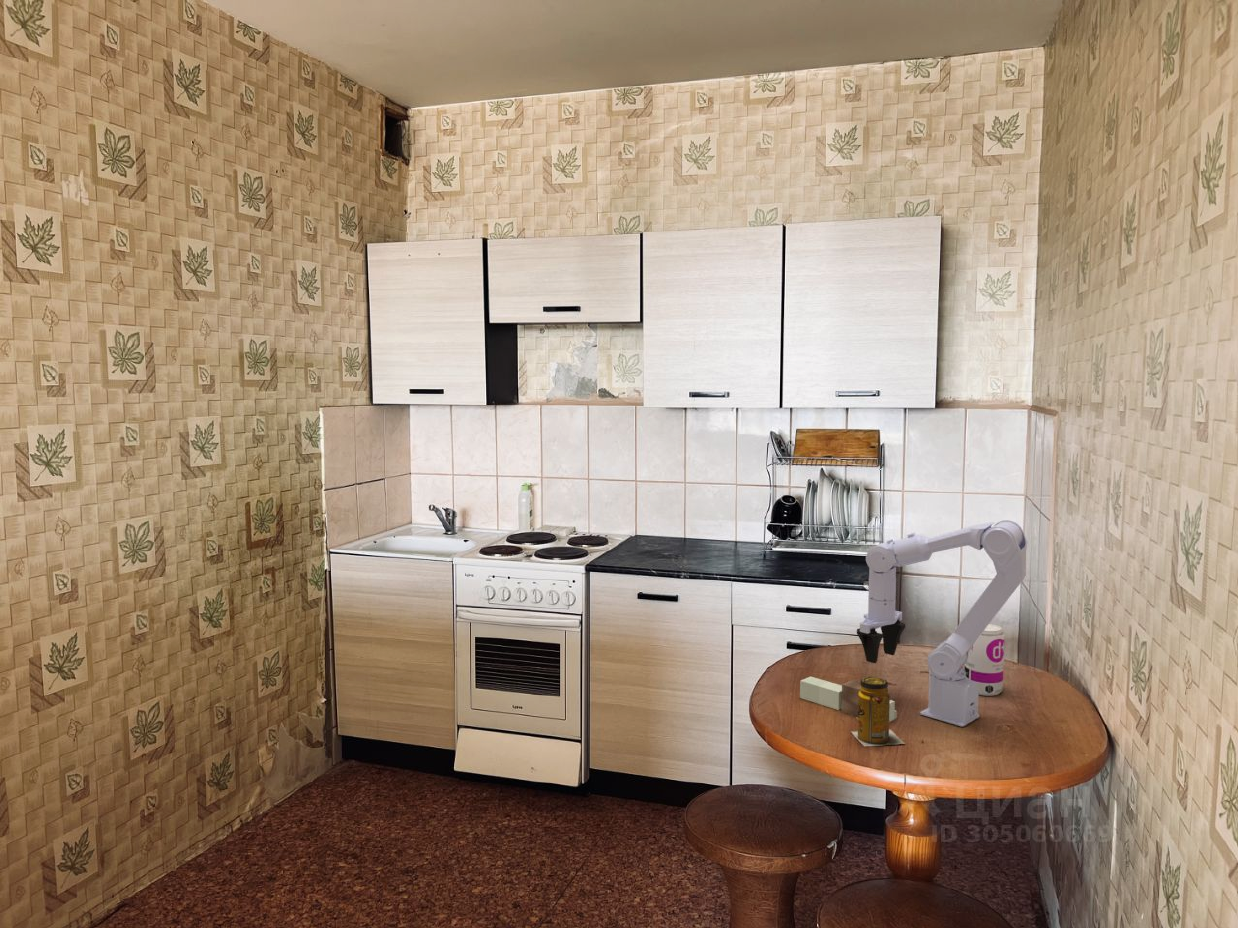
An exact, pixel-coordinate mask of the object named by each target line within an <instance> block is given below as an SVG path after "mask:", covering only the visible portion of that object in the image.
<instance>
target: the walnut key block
mask: <svg viewBox="0 0 1238 928" xmlns="http://www.w3.org/2000/svg"><path fill="white" fill-rule="evenodd" d="M860 682H861V681H858V680H853V679H852V680H848V681H847V682H844V683H842V684H841V686H842V709H841V712H842V713H846V714H848V713H849V715H852V716H855V717H858V693H859V692H860V687H861V684H860Z"/></svg>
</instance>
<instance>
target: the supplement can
mask: <svg viewBox="0 0 1238 928" xmlns="http://www.w3.org/2000/svg"><path fill="white" fill-rule="evenodd" d="M1005 639H1006V635H1005V633H1004V630H1003V627H1002V626H1000V625H998V624H994V623H991V622H990V623H989V625H988V626H987V627H986V628H985V630H984V631H983V632H982V634H981V635H980V636H979V638H978V639H977V640H976V641H975V643H974V644H973V646H972V647H971V649H970V650H969V654H968V660H967V662H966V663H965V664H964V670H965V673H966V677H967V678H968V679H970V680H972V681H975V682H976V683H977V684H978V689H979V695H980V696H986V697H987V696H988V697H989V696H990V697H991V696H997V695H1000V693H1001V692H1003V691H1004V668H1005V666H1004V665H1005V644H1006V643H1005V641H1006V640H1005Z"/></svg>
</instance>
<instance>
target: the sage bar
mask: <svg viewBox="0 0 1238 928" xmlns="http://www.w3.org/2000/svg"><path fill="white" fill-rule="evenodd" d="M799 698H800V699H802V700H805V701H808V702H813V703H815V704H818V705H820V706H821V705H822V706H824V707H828V708H831V709H834V710H838V711H840V710H842V684H838V683H834V682H831V681H828V680H824V679H821V678H817V677H814V676H811V675H810V676H808V677H805V678H804V679H801V680H800V682H799ZM895 704H896V701H895V700H892V699H890V706H889V723H890V722H892V721H894V720H896V719H897V717H898V716H897V715H898V712H897V711H898V710H895V708H896V707H895V706H896V705H895Z"/></svg>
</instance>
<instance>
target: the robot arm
mask: <svg viewBox="0 0 1238 928" xmlns="http://www.w3.org/2000/svg"><path fill="white" fill-rule="evenodd" d="M993 524H994V525H993ZM992 525H993V526H992ZM967 546H969V547H971V548H973V549H975V550H977V551H981V550H983V549H984V551H985V553H986V554H987V555H988V556H989V558H990V559H991V560H992V563H993V565H994V568H995V569H994V570H995V572H996V575H995V576H994V577H993V579H992V580H991V581H990V583H989V584H988V585H987V586H986V588H985V589H984V591H982V593H981V595H980V596H979V597H978V598H977V600H976V602H975V603H974V604H973V605H972V607H971V608H970V609H969V610H968V612H967V613H966V614H965V615H964V617H963V618H962V620H961V621H960V623H959V624H958V625H957V626H956V628H955V629H954V630H953V631H952V633H951V634H950V635H949V636H948V637H947V638H946V639H944V640H942V641H941V642H940V643H939V644H938V646H937V647H935V649H933V650H932V651H931V652H930V653H929V654H928V656H927V659H926V662H927V663H926V664H927V667H928V670H929V675H928V676H929V677H928V678H929V679H928V684H929V685H928V707H926V708H925V709H923V710H922V711H920V712H919V714H920V715H921V716H925V717H928V718H932V719H935V720H938V721H942V722H944V723H948V724H952V725H955V726H959V727H962V728H963V727H966V726H967V725H968V724H970V723H971V722H973V721H975V720H976V719H978V718H979V717H980V714H979V689H978V684H977V683H976V682H975V681H972V680H970V679H968V678H967V677H966V673H965V670H964V669H965V667H964V666H965V663H966V662H967V660H968V654H969V650H970V649H971V647H972V646H973V644H974V643H975V641H976V640H977V639H978V638H979V636H980V635H981V634H982V632H983V631H984V630H985V628H986V627H987V626H988V625H989V623H991V622H992V621H993V619H995V617H996V615H998V613H999V612H1000V610H1002V608H1003V607H1004V605H1005V604H1006V603H1007V602H1008V600H1009V599H1010V597H1011V596H1012V595H1013V594H1014V593H1015V591H1016V589H1017V588H1019V586H1020V584H1021V583H1022V582H1023V580H1024V579H1025V577H1026V574H1027V549H1028V548H1027V547H1028V541H1027V538H1026V536H1025V532H1024V530H1023V528H1022V527H1021V525H1019V524H1018V523H1017V522H1015V521H1013V520H1010V519H1009V520H1006V519H1005V520H1001V521H998V522H997V523H995V521H994V522H993V521H992V522H985V523H979V524H974V525H970V526H966V527H964V528H960V529H957V530H952V531H950V532H947V533H946V532H945V533H943V534H939V535H936V536H932V537H927V536H925V535H923V534H921V533H919V534H916V533H915V532H911V533H909V534H907V535H906V537H905V538H904V537H903V538H900V539H896V540H893V539H888V540H886V542H881V543H879V544H877V545H875V546H873V547H871V548H870V549H869V550H868V551H867V553H866V554H865V562H866V564H867V565H866V566H867V567H868V568H869V570H868V572H869V573H868V574H869V575H868V599H867V600H868V603H867V604H868V605H867V606H868V607H867V608H868V609H867V611H868V612H866V613H865V614H863V618H864V620H863V621H862V622H860V623H859V628H856V635H857V636H858V637H859V640H860V642H861V645H862V648H863V652H864V655H865V660H866V662H868V663H872V664H876V663H877V662H878V657H879V651H880V650H879V649H880V645H881V643H883V646H882V647H883V651H884V654H886V655H889V656H895V654H896V650H897V648H898V643H899V640H900V637H901V635H902V633H903V631H904V630H905V628H906V623H905V622H901V621H903V611H900V610H899V611H898V610H896V601H897V600H896V593H897V592H896V591H897V578H896V577H897V576H896V575H897V567H898V568H899V567H901V568H902V567H905V566H909V565H912V564H913V565H914V564H917V563H922V562H926V561H929V560H930V559H931V556H932V555H933V554H934V553H936V552H937V553H938V552H941V551H948V550H952V549H955V548H956V549H957V548H962V547H967ZM879 628H880V630H881V633H880V632H877V630H876V629H879ZM882 641H883V642H882Z"/></svg>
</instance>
